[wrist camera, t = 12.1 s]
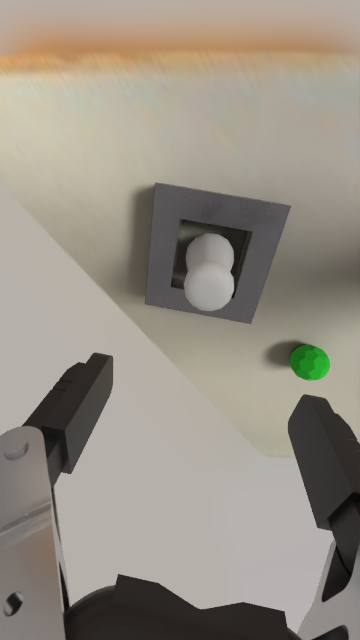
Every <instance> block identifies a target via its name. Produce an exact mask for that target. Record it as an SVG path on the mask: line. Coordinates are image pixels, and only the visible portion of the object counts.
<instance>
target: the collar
mask: <svg viewBox="0 0 360 640" xmlns="http://www.w3.org/2000/svg"><path fill="white" fill-rule="evenodd" d="M290 208H291V206H290V205H285V204H281V203H275V202H269V201H263V200H257V199H251V198H246V197H240V196H234V195H228V194H222V193H216V192H210V191H205V190H199V189H193V188H187V187H181V186H175V185H169V184H163V183H155V192H154V204H153V216H152V228H151V240H150V251H149V263H148V275H147V287H146V299H145V304H147V305H152V306H158V307H163V308H169V309H174V310H179V311H185V312H190V313H195V314H201V315H206V316H212V317H217V318H222V319H228V320H233V321H239V322H244V323H249V324H251V322H252V319H253V316H254V313H255V310H256V307H257V304H258V301H259V298H260V295H261V293H262V290H263V287H264V284H265V281H266V278H267V275H268V272H269V269H270V266H271V263H272V260H273V257H274V254H275V252H276V249H277V246H278V243H279V240H280V237H281V234H282V231H283V228H284V225H285V222H286V219H287V216H288V213H289V210H290ZM183 219H184V220H190V221H195V222H201V223H207V224H213V225H218V226H224V227H230V228H235V229H241V230H247V235H246V238H245V242H244V246H243V249H242V253H241V257H240V260H239V264H238V268H237V271H236V275H235V279H234V292H233V294H232V296H231V299H230V301H229V302H228V303H227V304H226V305H225V306H223V307H222V308H221V309H217V310H214V311H202V310H199V309H198V308H196V307H194V306H192V305H191V303H190V302H189V301H188V299H187V298H186V295H185V289H184V282H185V280H183V279H178V278H174V276H175V269H176V262H177V255H178V248H179V241H180V234H181V227H182V220H183Z"/></svg>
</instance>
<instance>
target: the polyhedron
mask: <svg viewBox="0 0 360 640" xmlns="http://www.w3.org/2000/svg"><path fill="white" fill-rule="evenodd" d="M290 366H291V368H292V370H293V371H294V372H295V374H296V375H297V376H298V377H301V378H303V379H305V380H317V379H321V378H323V377H324V376H325V375H326V374H327V372H328V370H329V368H330V363H329V358H328V356H327V355H326V353H325V352H324V351H323V350H322V349H320V348H318V347H315V346H312V345H302V346H300V347H298V348H296V349H295V350H294V351H293V352H292V354H291V357H290Z"/></svg>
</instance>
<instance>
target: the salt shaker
mask: <svg viewBox="0 0 360 640" xmlns="http://www.w3.org/2000/svg"><path fill="white" fill-rule="evenodd" d="M185 259H186V266H187V270H188V273H187V275H186V278H185V282H184V289H185V295H186V298H187V299H188V301H189V302H190V303H191V305H192V306H194V307H196V308H198V309H199V310H202V311H214V310H217V309H221V308H222V307H223V306H225V305H226V304H227V303H228V302H229V301H230V299H231V296H232V294H233V292H234V279H233V276H232V274H231V273H230V271H231V268H232V265H233V262H234V252H233V248H232V246H231V245H230V243H229V241H228V240H227V239H225V238H224V237H222V236H220V235H219V234H212V233H205V234H203V235H201V236H198V237H196V238H195V239H194V240H193V241H192V242H191V243H190V244H189V245H188V248H187V252H186V255H185Z"/></svg>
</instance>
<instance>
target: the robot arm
mask: <svg viewBox="0 0 360 640" xmlns="http://www.w3.org/2000/svg"><path fill="white" fill-rule="evenodd" d="M112 385H113V356H110V355H105V354H100V353H93V354H92V356H91V357H90V359H89V360H88V361H87V362H86V364H85V363H80V362H79V363H77V364H75V365H74V366H72V367H71V368H69V369H67V371H66V372H65V373H64V374H63V375H62V377H61V378H60V380H59V381H58V382H57V383H56V384H55V386H54V387H53V389H52V390H50V392H49V393H48V394H47V396H46V397H45V398H44V399H43V401H42V402H41V403H40V404H39V406H38V407H37V408H36V409H35V411H34V412H33V413H32V414H31V416H30V417H29V418H28V419H27V421H26V422H25V423H24V424H23V425H22V426H21V427H17V428H14V429H11V430H9V431H7V432H5V433H4V434H2V435H1V436H0V640H360V444H359V442H357V438H356V437H355V435H354V433H353V431H352V430H351V428H350V426H349V425H348V424H347V423H346V422H345V421H344V420H343V419H342V418H341V417H340V416H339V415H338V414H335V413H334V412H333V410H332V408H331V406H330V404H329V402H328V401H327V400H326V399H325V398H322V397H317V396H312V395H306V394H305V395H303V396H302V397H301V399H300V401H299V402H298V404H297V406H296V408H295V409H294V411H293V413H292V415H291V416H290V418H289V422H288V433H289V437H290V440H291V443H292V447H293V450H294V453H295V456H296V459H297V463H298V466H299V469H300V472H301V476H302V479H303V482H304V486H305V489H306V492H307V495H308V499H309V502H310V505H311V508H312V512H313V515H314V518H315V521H316V525H317V528H321V529H325V530H330V531H332V533H333V536H334V538H335V540H334V541H333V542H332V543H331V545H330V549H329V553H328V555H327V559H326V562H325V566H324V569H323V572H322V576H321V579H320V582H319V586H318V589H317V592H316V596H315V599H314V602H313V604H312V606H311V608H310V610H309V611H308V613H307V614H306V616H305V617H304V620H303V621H302V623H301V626H300V628H299V630H298V633H297V634H295V633H294V632H293V631H292V630H291V629H289V628H288V627H287V624H286V617H285V612H284V611H280V610H275V609H271V608H267V607H262V606H258V605H253V604H249V603H244V602H242V603H236V604H231V605H225V606H220V607H214V608H209V609H198V608H196V607H194V606H193V605H191V604H190V603H188V602H187V601H185V600H183V599H182V598H180V597H179V596H177V595H176V594H174V593H173V592H171V591H169V590H168V589H166V588H165V587H163V586H162V585H160V584H159V583H155V582H151V581H146V580H142V579H138V578H133V577H129V576H124V575H120V574H118V577H117V581H116V585H113V586H107V587H104V588H101V589H99V590H96V591H94V592H92V593H90V594H88V595H87V596H85V597H83V598H82V599H80V600H79V601H77V602H76V603H75V604H74V605H72V606H71V605H70V598H69V590H68V583H67V575H66V568H65V562H64V556H63V550H62V543H61V535H60V528H59V520H58V513H57V505H56V497H55V489H54V485H55V483H56V481H57V479H58V477H59V475H60V473H61V472H63V473H68V474H71V473H72V471H73V469H74V467H75V465H76V463H77V461H78V459H79V457H80V455H81V453H82V451H83V449H84V447H85V445H86V443H87V441H88V439H89V437H90V435H91V433H92V431H93V429H94V427H95V425H96V423H97V421H98V418H99V416H100V414H101V412H102V410H103V408H104V406H105V404H106V402H107V400H108V398H109V396H110V393H111V390H112Z"/></svg>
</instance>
